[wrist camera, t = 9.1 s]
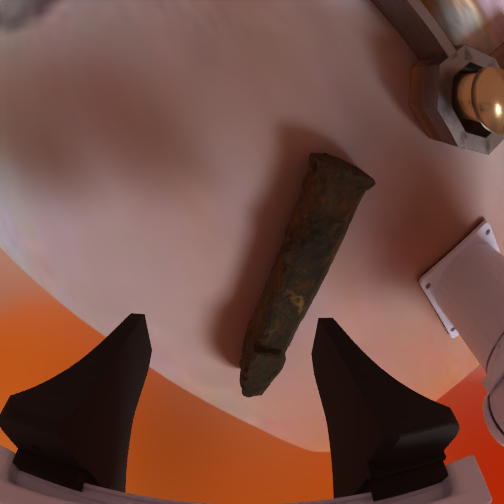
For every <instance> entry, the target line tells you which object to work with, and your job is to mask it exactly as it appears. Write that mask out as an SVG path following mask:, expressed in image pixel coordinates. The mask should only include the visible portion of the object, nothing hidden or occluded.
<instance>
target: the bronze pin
mask: <svg viewBox="0 0 504 504" xmlns="http://www.w3.org/2000/svg"><path fill="white" fill-rule="evenodd" d="M451 106H452V108H453V110H454V112H455V113H456V115H457V117H458V118H463V119H467V120H472V121H477V122H480V123H481V124H482V126H483V127H484V128H486V129H487V130H489V131H491V132H494V133H497V134H503V135H504V69H502V68H500V67H484V68H482V69H480V70H479V71H478V72H477V73H456V74H455V75H454V76H453V88H452V104H451Z"/></svg>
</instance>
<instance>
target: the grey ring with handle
mask: <svg viewBox="0 0 504 504" xmlns="http://www.w3.org/2000/svg"><path fill="white" fill-rule="evenodd" d="M372 1H373V3H374V4H375V5H376V6H377V7H378V8H379V9H380V10H381V12H382V13H383V14H384V15H385V16H386V17H387V19H388V20H389V21H390V22H391V23H392V25H393V26H394V27H395V28H396V30H397V31H398V32H399V33H400V35H401V36H402V37H403V38H404V40H405V41H406V42H407V44H408V45H409V46H410V48H411V49H412V50H413V52H414V53H415V54H416V56H417V57H418V59H419V60H420V61H423V60H430V59H433V60H432V61H431V62H429V63H428V64H427V65H425V68H424V90H423V105H422V108H423V109H424V111H425V112H426V114H427V116H428V117H429V119H430V120H431V122H432V124H433V125H434V127H435V129H436V130H437V132H438V134H439V136H440V137H441V139H442V141H443V142H444V143H447V144H450V145H454V146H457V147H460V148H464V149H468V150H472V151H476V152H480V153H484V154H487V155H489V154H490V153H491V152H492V151H493V150H494V149H495V148H496V147H497V146H498V145H499V143H500V142H501V141H502V140H503V139H504V135H503V134H497V133H494V132H491V131H489V130H487V129H486V128H484V127H483V126H482V124H480V125H479V126H478V127H477V128H476V129H475V130H474V131H473V132H472V133H471V134H470V133H466V132H465V130H464V128H463V126H462V124H461V123H460V121H459V119H458V117H457V115H456V113H455V112H454V110H453V108H452V106H451V104H452V88H453V76H454V75H455V74H456V73H457V72H458V71H460V70H461V69H462V68H463V67H466V68H469V69H472V70H474V71H475V72H476V73H477V72H478V71H479V70H480V69H482V68H484V67H499V65H498V63H497V61H496V59H495V58H493V57H491V56H489V55H487V54H484V53H482V52H480V51H478V50H476V49H473V48H471V47H469V46H467V45H459V46H453V45H452V44H451V42H450V41H449V39H448V38H447V36H446V35H445V33H444V32H443V30H442V29H441V28H440V26H439V25H438V23H437V22H436V21H435V19H434V18H433V17H432V15H431V14H430V13H429V11H428V10H427V9H426V8H425V6H424V5H423V4H422V3H421V1H420V0H372Z"/></svg>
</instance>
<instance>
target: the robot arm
mask: <svg viewBox="0 0 504 504" xmlns="http://www.w3.org/2000/svg"><path fill="white" fill-rule="evenodd" d="M486 231H487V232H486ZM428 283H429V284H428ZM419 284H420V286H421V287H422V289H423V291H424V292H425V294H426V295H427V297H428V299H429V300H430V302H431V304H432V305H433V307H434V309H435V310H436V312H437V314H438V315H439V317H440V319H441V320H442V322H443V324H444V326H445V327H446V329H447V331H448V333H449V335H450V336H451V338H455V337H457V336H458V335H459V334H460V336H461V337H462V339H463V340H464V341H465V343H466V344H467V346H468V347H469V348H470V350H471V351H472V353H473V354H474V356H475V357H476V359H477V360H478V362H479V363H480V365H481V366H482V368H483V369H484V370H485V372H486V376H485V378H484V380H483V381H482V384H483V386H484V387H485V389H486V390H487V392H488V393H487V395H486V397H485V399H484V402H483V414H484V419H485V422H486V425H487V427H488V429H489V431H490V433H491V435H492V436H493V437H494V438H495V440H496V441H497V442H499V443H500V444H501V445H502V446H504V256H503V255H501V254H500V252H499V249H498V246H497V243H496V240H495V237H494V234H493V231H492V229H491V226H490V223H489V222H487V221H486V220H485V221H483V222H481V223H480V224H479V225H478V226H477V227H476V228H475V229H474V230H473V231H472V232H471V233H470V234H469V235H468V236H467V237H466V238H465V239H464V240H463V241H462V242H460V243H459V244H458V245H457V246H456V247H455V248H454V249H453V250H452V251H451V252H449V253H448V254H447V255H446V256H445V257H444V258H443V259H442V260H440V261H439V262H438V263H437V264H436V265H435V266H433V267H432V268H431V269H430V270H429V271H428V272H426V273H425V274H424V275H423V276H422V277H421V278H420V280H419ZM427 284H428V285H427ZM426 285H427V286H426ZM151 352H152V348H151V344H150V339H149V334H148V329H147V324H146V319H145V314H133V313H131V314H130V315H129V316H128V317H127V318H126V319H125V320H124V321H123V322H122V323H121V324H120V325H119V326H118V327H117V328H116V329H115V330H114V331H113V332H112V333H111V334H109V335H108V336H107V337H106V338H105V339H104V340H103V341H102V342H101V343H100V344H99V345H98V346H97V347H95V348H94V349H93V350H92V351H91V352H90V353H89V354H87V355H86V356H85V357H84V358H82V359H81V360H80V361H79V362H77V363H75V364H74V365H73V366H71V367H70V368H69V369H67V370H65V371H63V372H62V373H60V374H58V375H57V376H55V377H53V378H51V379H50V380H48V381H46V382H44V383H42V384H39V385H38V386H36V387H33V388H30V389H28V390H25V391H22V392H20V393H17V394H14V395H11V396H10V397H9V399H8V401H7V403H6V404H5V406H4V408H3V410H2V412H1V414H0V427H1V429H2V430H3V431H4V433H5V434H6V435H7V436H8V437H9V439H10V440H11V441H12V442H13V443H14V444H15V445H16V446H17V448H18V450H17V452H16V454H15V453H14V452H12V451H11V450H9V449H7V448H5V447H2V446H0V504H206V503H193V502H183V501H174V500H166V499H159V498H152V497H146V496H140V495H135V494H129V493H125V485H126V468H127V457H128V449H129V441H130V434H131V429H132V423H133V418H134V414H135V410H136V407H137V404H138V401H139V397H140V394H141V391H142V388H143V385H144V382H145V379H146V376H147V372H148V369H149V363H150V358H151ZM312 362H313V369H314V375H315V379H316V383H317V387H318V390H319V394H320V398H321V401H322V405H323V409H324V412H325V416H326V421H327V426H328V434H329V441H330V450H331V459H332V472H333V490H334V499H327V500H319V501H310V502H299V503H286V504H490V503H491V502H492V498H491V495H490V493H489V490H488V488H487V485H486V483H485V480H484V478H483V475H482V473H481V471H480V468H479V466H478V464H477V462H476V459H475V457H474V455H470V456H468V457H465V458H463V459H460V460H457V461H454V462H452V463H450V464H449V465H447V466H445V465H444V462H443V460H445V458H446V455H445V453H444V449H445V448H446V447H447V446H448V445H449V443H450V442H451V441H452V440H453V439H454V438H455V436H456V435H457V433H458V431H459V424H458V422H457V420H456V418H455V416H454V414H453V412H452V410H451V409H450V408H449V407H447V406H445V405H442V404H440V403H437V402H435V401H432V400H430V399H428V398H426V397H424V396H422V395H420V394H418V393H416V392H415V391H413V390H411V389H410V388H408V387H406V386H405V385H403V384H402V383H400V382H399V381H397V380H396V379H394V378H393V377H392V376H390V375H389V374H388V373H386V372H385V371H384V370H383V369H381V368H380V367H379V366H378V365H377V364H376V363H374V362H373V361H372V360H371V359H370V358H369V357H368V356H367V355H366V354H365V353H364V352H363V351H362V350H361V349H360V348H359V347H358V346H357V345H356V344H355V343H354V342H353V340H352V339H351V338H350V337H349V336H348V335H347V334H346V333H345V331H344V330H343V329H342V328H341V327H340V326H339V324H338V323H337V322H336V321H335V320H334V319H333V318H318V324H317V329H316V334H315V339H314V344H313V349H312Z"/></svg>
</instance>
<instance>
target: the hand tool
mask: <svg viewBox="0 0 504 504" xmlns="http://www.w3.org/2000/svg"><path fill="white" fill-rule="evenodd" d="M309 160H310V167H311V171H310V172H309V173H308V174H307V176H306V177H305V178H304V180H303V182H302V186H303V193H302V195H301V197H300V199H299V201H298V203H297V206H296V209H295V210H294V212H293V214H292V217H291V221H290V223H289V225H288V227H287V229H286V232H285V235H286V238H285V240H284V243H283V245H282V247H281V249H280V251H279V252H278V256H277V259H276V262H275V264H274V267H273V270H272V272H271V275H270V277H269V280H268V283H267V285H266V288H265V290H264V293H263V295H262V297H261V300H260V302H259V305H258V308H257V310H256V312H255V315H254V317H253V319H252V320H250V322H249V325H248V328H247V331H246V335H245V339H244V342H243V348H242V349H243V354H242V358H241V360H240V367H241V372H240V385H241V388H242V394H243V395H244V396H246V397H252V396H257V395H262V394H263V393H264V391H265V390H266V389H267V387H268V386H269V385H270V383H271V382H272V381H273V380H274V378H275V377H276V376H277V375H278V374H279V373H280V371H281V370H282V368H283V366H284V363H285V360H286V357H285V352H286V350H287V348H288V346H289V345H290V343H291V341H292V339H293V336H294V334H295V332H296V330H297V328H298V326H299V324H300V322H301V321H302V319H303V318H304V316H305V314H306V312H307V310H308V308H309V306H310V305H311V303H312V301H313V299H314V297H315V296H316V294H317V292H318V290H319V288H320V286H321V284H322V282H323V280H324V278H325V276H326V274H327V272H328V270H329V267H330V265H331V264H332V262H333V260H334V257H335V255H336V253H337V251H338V249H339V247H340V245H341V243H342V241H343V238H344V236H345V234H346V231H347V229H348V226H349V224H350V222H351V220H352V218H353V215H354V212H355V210H356V208H357V206H358V204H359V202H360V200H361V198H362V197H363V195H364V193H365V191H367V190H369V189H370V188H371V187H373V186H374V185H375V181H374V179H373V178H371V177H370V176H369V175H368V174H366V173H365V172H363V171H362V170H361V169H359V168H358V167H356V166H354V165H352V164H350V163H348V162H346V161H344V160H342V159H340V158H337V157H334V156H331V155H328V154H326V153H323V154H320V153H311V154H310V157H309Z"/></svg>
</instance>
